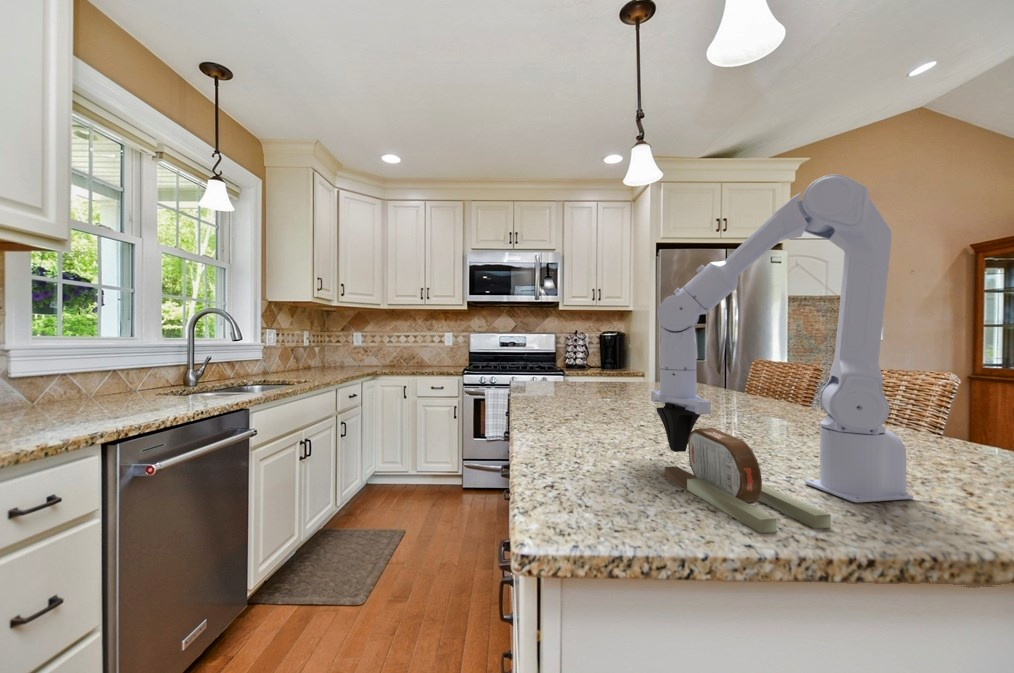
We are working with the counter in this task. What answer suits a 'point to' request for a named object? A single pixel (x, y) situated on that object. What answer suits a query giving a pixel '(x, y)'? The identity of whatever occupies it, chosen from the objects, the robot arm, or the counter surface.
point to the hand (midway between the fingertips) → (678, 450)
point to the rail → (746, 511)
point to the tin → (725, 463)
